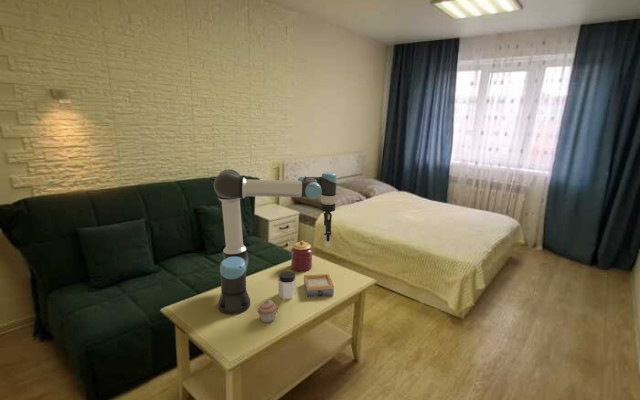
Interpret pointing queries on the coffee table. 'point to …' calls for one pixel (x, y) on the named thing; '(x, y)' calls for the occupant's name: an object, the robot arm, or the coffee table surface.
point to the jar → (287, 285)
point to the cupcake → (267, 311)
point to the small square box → (318, 285)
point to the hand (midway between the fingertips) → (326, 241)
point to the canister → (301, 256)
